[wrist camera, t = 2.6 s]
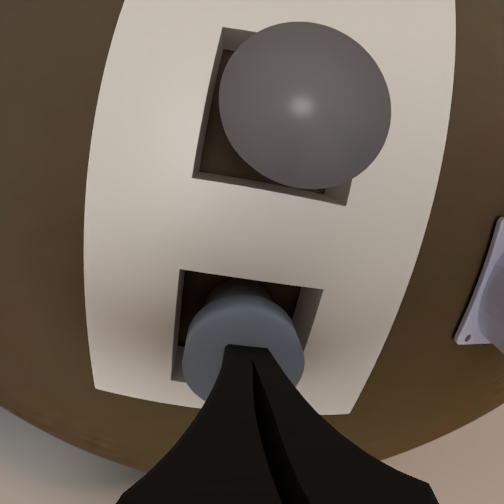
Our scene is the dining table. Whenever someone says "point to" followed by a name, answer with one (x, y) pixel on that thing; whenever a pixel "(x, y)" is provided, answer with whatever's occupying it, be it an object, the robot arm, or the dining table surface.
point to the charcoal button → (304, 105)
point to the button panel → (254, 194)
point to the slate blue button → (238, 333)
